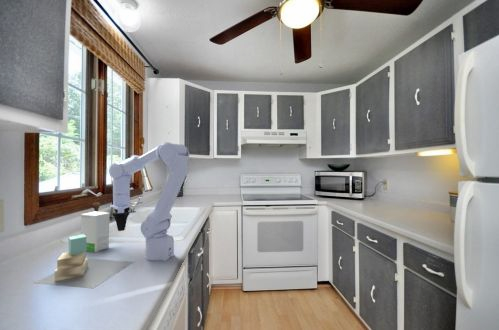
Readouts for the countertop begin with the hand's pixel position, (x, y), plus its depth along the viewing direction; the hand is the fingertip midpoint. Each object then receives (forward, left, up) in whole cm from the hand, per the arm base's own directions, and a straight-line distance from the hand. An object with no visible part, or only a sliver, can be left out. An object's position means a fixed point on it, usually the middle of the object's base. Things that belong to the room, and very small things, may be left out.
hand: (121, 228), depth 87 cm
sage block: (+3, +16, -3) cm, 17 cm away
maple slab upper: (+3, +18, -6) cm, 19 cm away
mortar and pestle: (+24, -13, -11) cm, 29 cm away
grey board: (-1, +16, -10) cm, 19 cm away
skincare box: (+14, -2, -11) cm, 18 cm away
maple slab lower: (+3, +18, -9) cm, 21 cm away
